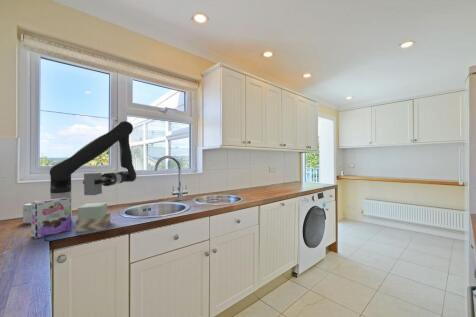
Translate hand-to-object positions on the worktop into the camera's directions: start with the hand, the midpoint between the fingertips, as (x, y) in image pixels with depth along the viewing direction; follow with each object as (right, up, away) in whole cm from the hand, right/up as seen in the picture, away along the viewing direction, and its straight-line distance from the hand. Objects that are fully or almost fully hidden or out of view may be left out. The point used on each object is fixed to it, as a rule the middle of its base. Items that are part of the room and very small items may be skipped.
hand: (89, 182), depth 113 cm
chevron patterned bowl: (+1, -24, +3) cm, 24 cm away
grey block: (0, -6, +3) cm, 7 cm away
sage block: (0, -18, +2) cm, 18 cm away
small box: (-41, -24, +13) cm, 49 cm away
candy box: (-14, -24, -6) cm, 29 cm away
